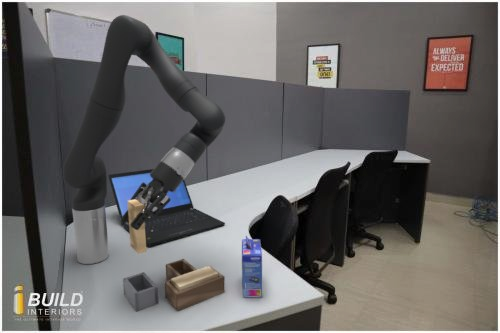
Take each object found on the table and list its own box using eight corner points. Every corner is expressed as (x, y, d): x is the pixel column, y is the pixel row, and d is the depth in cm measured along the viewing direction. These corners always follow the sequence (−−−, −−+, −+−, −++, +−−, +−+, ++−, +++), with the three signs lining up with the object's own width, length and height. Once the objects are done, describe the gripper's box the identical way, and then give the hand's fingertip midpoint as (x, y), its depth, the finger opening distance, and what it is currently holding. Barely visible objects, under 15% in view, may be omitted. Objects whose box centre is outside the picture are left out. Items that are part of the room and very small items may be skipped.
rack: (152, 283, 94) (151, 268, 93) (196, 268, 102) (195, 255, 101) (177, 311, 82) (177, 294, 81) (224, 292, 90) (224, 276, 89)
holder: (124, 294, 88) (123, 278, 87) (145, 287, 92) (144, 272, 91) (136, 311, 81) (135, 294, 80) (158, 303, 85) (157, 286, 84)
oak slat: (130, 246, 85) (127, 200, 83) (138, 243, 86) (135, 199, 84) (138, 253, 81) (135, 206, 79) (146, 251, 82) (143, 204, 80)
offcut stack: (170, 298, 87) (169, 279, 86) (209, 283, 94) (209, 265, 93) (179, 307, 83) (178, 287, 82) (219, 291, 90) (218, 273, 89)
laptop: (148, 249, 115) (145, 195, 111) (110, 219, 143) (107, 174, 139) (226, 226, 136) (226, 180, 132) (180, 203, 164) (179, 165, 160)
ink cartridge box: (241, 278, 97) (241, 230, 94) (260, 277, 97) (261, 230, 94) (241, 298, 87) (242, 246, 84) (262, 298, 87) (264, 246, 84)
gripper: (151, 156, 89) (108, 208, 85) (175, 165, 78) (127, 225, 73) (170, 173, 94) (130, 223, 89) (196, 183, 83) (151, 241, 78)
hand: (129, 223), depth 81 cm, fingers closed on oak slat, 5 cm apart
